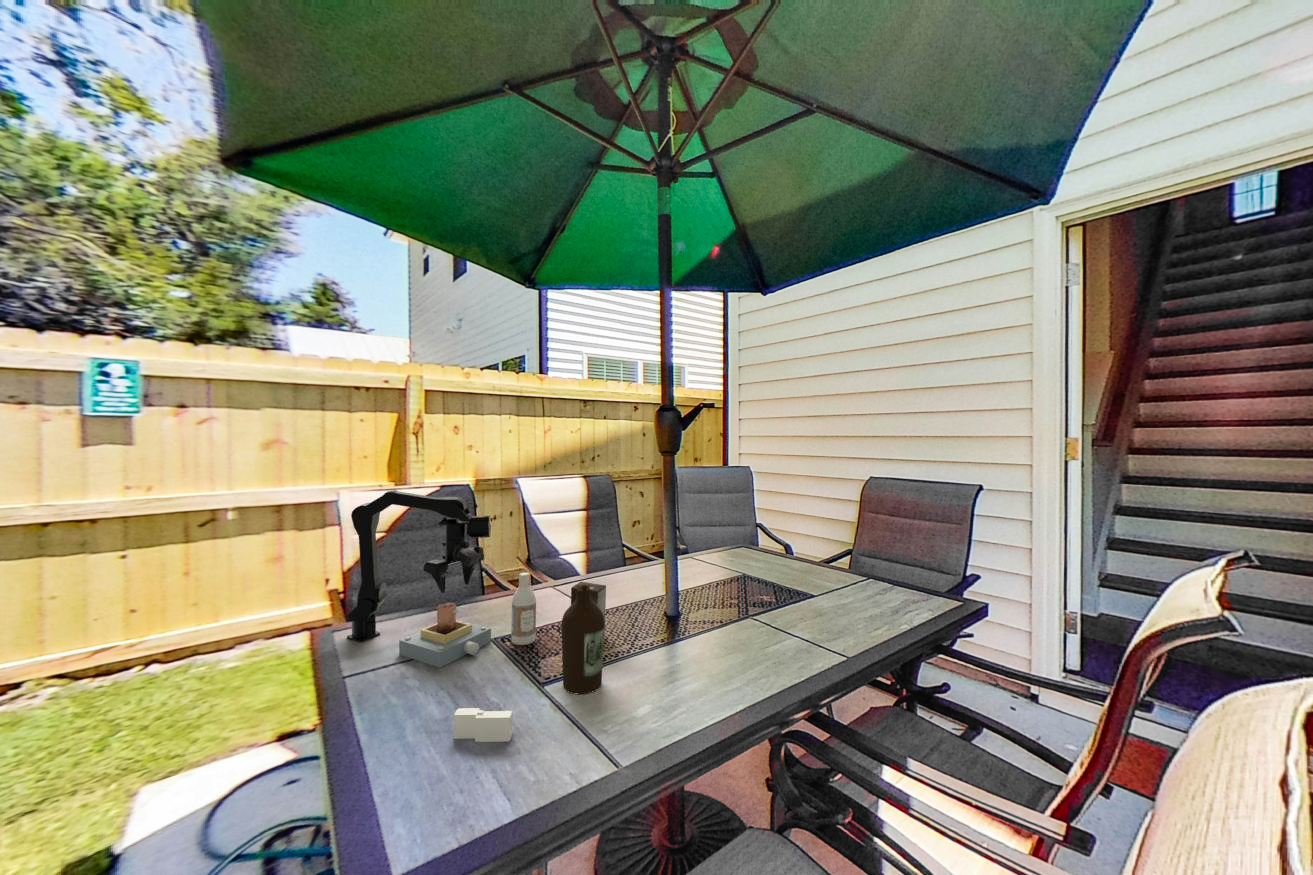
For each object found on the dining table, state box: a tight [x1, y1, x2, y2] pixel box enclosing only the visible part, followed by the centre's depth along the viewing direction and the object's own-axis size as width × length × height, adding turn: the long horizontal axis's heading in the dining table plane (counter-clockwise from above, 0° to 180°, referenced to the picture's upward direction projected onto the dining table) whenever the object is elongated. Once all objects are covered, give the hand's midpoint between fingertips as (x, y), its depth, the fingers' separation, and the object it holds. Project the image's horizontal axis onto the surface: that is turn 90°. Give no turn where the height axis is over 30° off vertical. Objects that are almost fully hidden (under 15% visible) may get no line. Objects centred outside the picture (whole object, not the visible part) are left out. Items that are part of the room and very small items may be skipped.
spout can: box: [436, 602, 459, 635], centre depth 141 cm, size 7×5×8 cm
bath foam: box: [510, 572, 537, 646], centre depth 147 cm, size 7×7×20 cm
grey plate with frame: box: [398, 619, 492, 668], centre depth 141 cm, size 19×18×6 cm
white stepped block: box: [453, 707, 514, 743], centre depth 102 cm, size 15×11×6 cm
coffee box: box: [570, 581, 607, 638], centre depth 149 cm, size 9×6×16 cm
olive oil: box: [560, 581, 606, 695], centre depth 122 cm, size 11×11×25 cm
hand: (455, 588), depth 154 cm, fingers open, 9 cm apart
